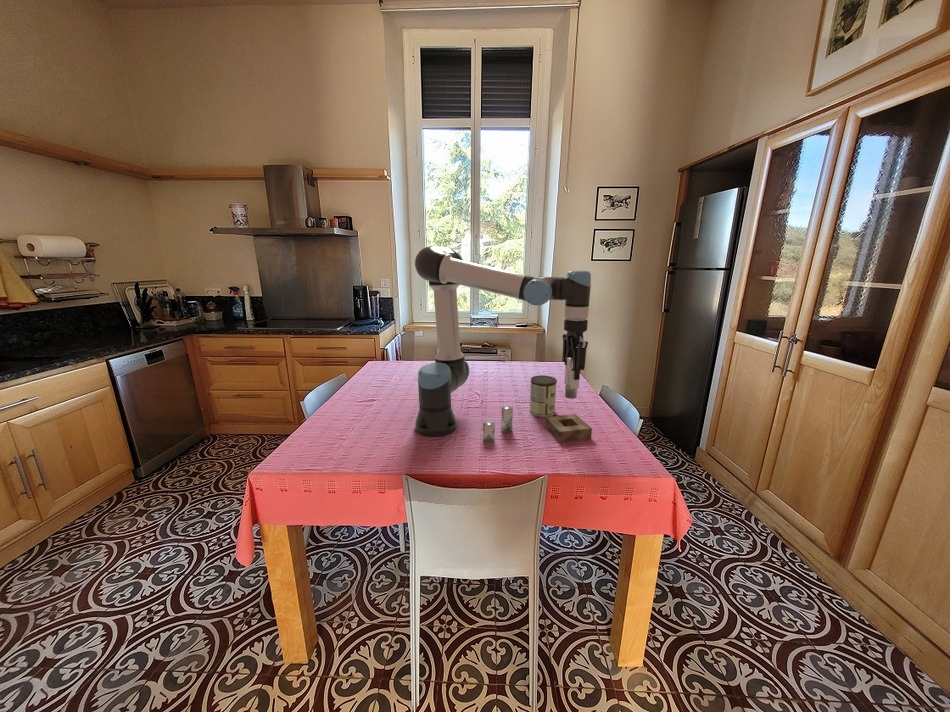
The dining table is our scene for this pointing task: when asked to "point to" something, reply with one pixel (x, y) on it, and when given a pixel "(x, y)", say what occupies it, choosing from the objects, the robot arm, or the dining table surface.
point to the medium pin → (506, 419)
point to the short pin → (488, 431)
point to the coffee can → (542, 396)
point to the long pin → (569, 380)
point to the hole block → (568, 428)
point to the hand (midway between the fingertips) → (571, 385)
